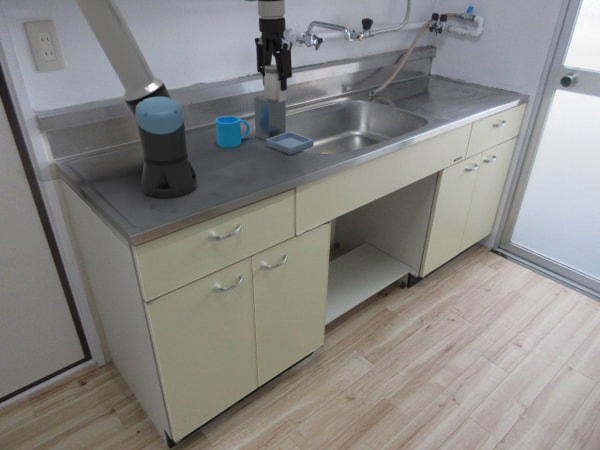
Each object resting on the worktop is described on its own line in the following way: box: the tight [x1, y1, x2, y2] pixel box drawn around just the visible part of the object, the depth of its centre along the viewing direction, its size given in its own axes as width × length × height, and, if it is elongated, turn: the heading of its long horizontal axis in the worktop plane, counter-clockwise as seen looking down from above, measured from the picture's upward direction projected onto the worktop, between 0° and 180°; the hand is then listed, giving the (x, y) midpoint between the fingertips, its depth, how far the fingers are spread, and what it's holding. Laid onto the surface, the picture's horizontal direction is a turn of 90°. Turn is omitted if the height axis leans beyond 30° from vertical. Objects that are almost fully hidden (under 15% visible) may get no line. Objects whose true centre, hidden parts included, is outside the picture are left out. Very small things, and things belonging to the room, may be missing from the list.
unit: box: [253, 94, 286, 141], centre depth 159 cm, size 8×7×15 cm
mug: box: [215, 115, 251, 148], centre depth 156 cm, size 12×8×8 cm
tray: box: [265, 130, 315, 156], centre depth 154 cm, size 11×11×2 cm
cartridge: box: [265, 63, 279, 102], centre depth 138 cm, size 5×5×10 cm
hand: (275, 98), depth 141 cm, fingers closed on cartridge, 5 cm apart
